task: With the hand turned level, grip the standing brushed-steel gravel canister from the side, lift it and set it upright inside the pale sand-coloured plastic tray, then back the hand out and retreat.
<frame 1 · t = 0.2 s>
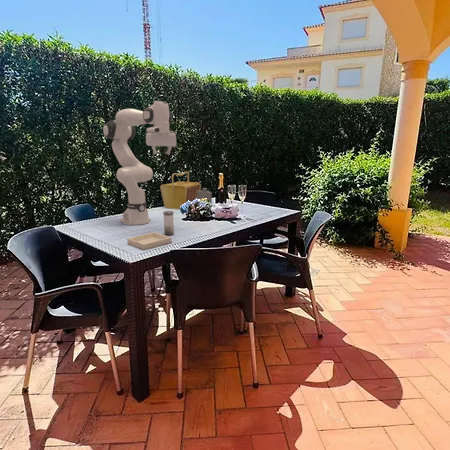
hand: (161, 154, 185), 48 cm above the table, tool pointing down, fingers open, 8 cm apart
sand tray: (149, 243, 171), on the table
hip flask: (204, 213, 250), on the table
picnic basket: (181, 206, 276), on the table
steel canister: (169, 234, 188), on the table
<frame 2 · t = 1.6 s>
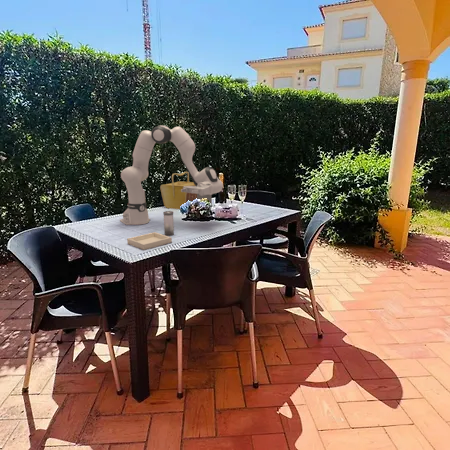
hand: (186, 191, 192), 25 cm above the table, tool horizontal, fingers open, 8 cm apart
nothing on the table moved.
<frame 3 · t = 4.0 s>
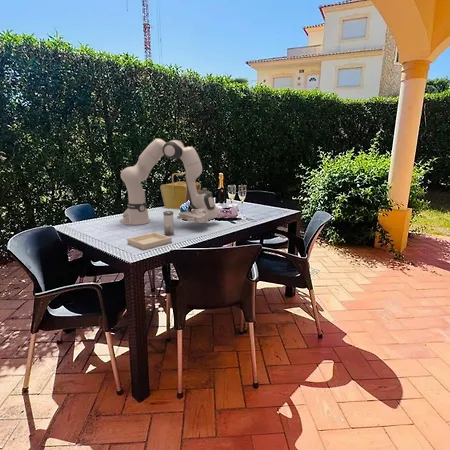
hand: (182, 218, 194), 8 cm above the table, tool horizontal, fingers open, 8 cm apart
nothing on the table moved.
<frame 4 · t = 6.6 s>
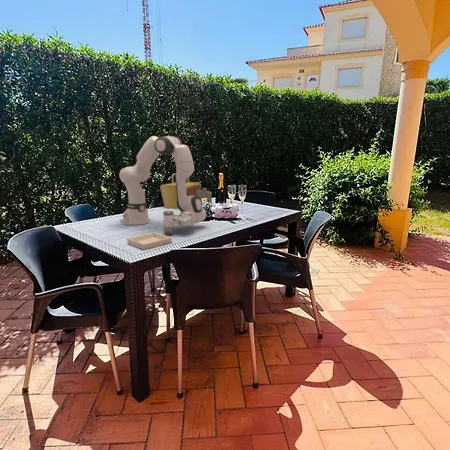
hand: (167, 222, 185), 8 cm above the table, tool horizontal, fingers closed on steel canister, 6 cm apart
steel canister: (169, 234, 188), on the table, touching gripper
everything else where it was.
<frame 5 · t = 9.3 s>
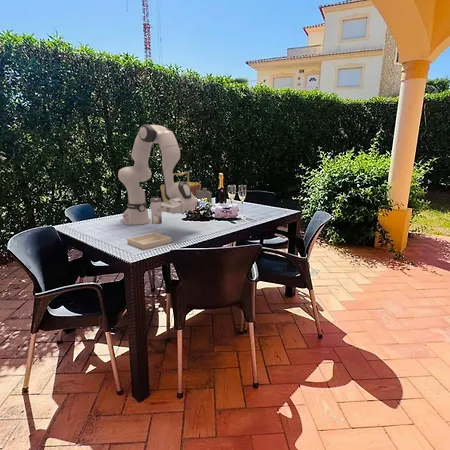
hand: (154, 209, 172), 18 cm above the table, tool horizontal, fingers closed on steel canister, 6 cm apart
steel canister: (157, 223, 175), point 10 cm above the table, touching gripper
everything else where it was.
when the fingers open (10 cm above the table, at t = 12.3 s): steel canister drops 1 cm, resting on sand tray.
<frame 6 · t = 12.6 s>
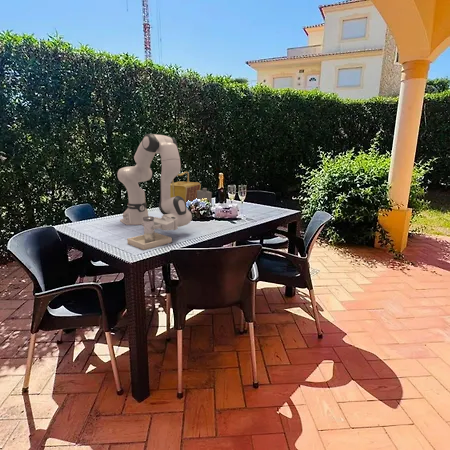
hand: (147, 226, 168), 10 cm above the table, tool horizontal, fingers open, 8 cm apart
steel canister: (149, 242, 171), point 1 cm above the table, touching sand tray
everything else where it was.
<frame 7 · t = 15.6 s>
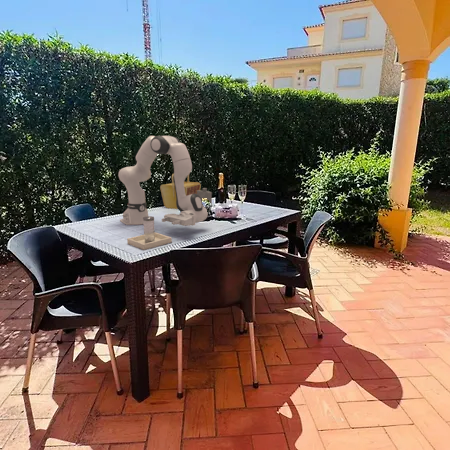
hand: (167, 221, 178), 10 cm above the table, tool horizontal, fingers open, 8 cm apart
nothing on the table moved.
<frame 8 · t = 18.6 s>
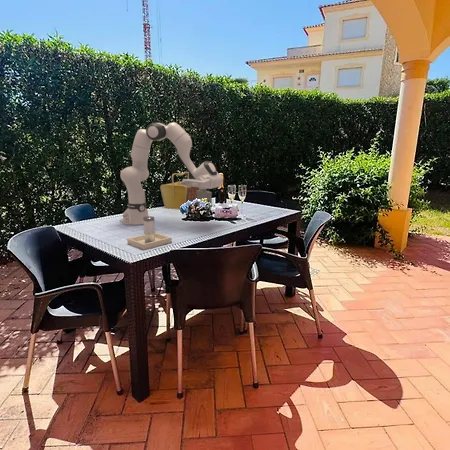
hand: (186, 184, 186), 30 cm above the table, tool horizontal, fingers open, 8 cm apart
nothing on the table moved.
at the end: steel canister inside the target area on the sand tray (0.1 cm from its centre), point 0.6 cm above the sand tray's base; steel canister tilted 1°; the gripper is holding nothing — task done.
